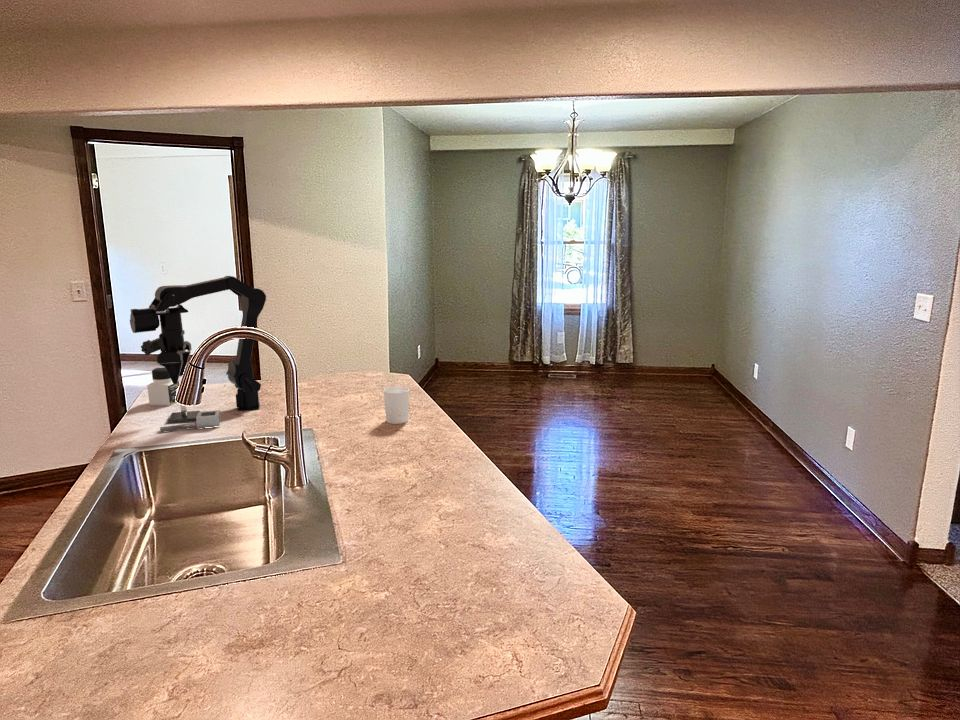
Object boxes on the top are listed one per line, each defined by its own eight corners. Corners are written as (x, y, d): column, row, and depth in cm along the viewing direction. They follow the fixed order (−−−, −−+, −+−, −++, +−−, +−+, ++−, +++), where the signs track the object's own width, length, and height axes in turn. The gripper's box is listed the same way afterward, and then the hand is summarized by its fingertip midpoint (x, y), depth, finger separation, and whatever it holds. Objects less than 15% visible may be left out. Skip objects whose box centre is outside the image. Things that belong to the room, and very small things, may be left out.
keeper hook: (200, 413, 192) (198, 398, 191) (197, 421, 184) (195, 405, 183) (172, 415, 189) (170, 400, 188) (168, 423, 182) (166, 407, 181)
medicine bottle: (170, 406, 200) (166, 370, 197) (149, 405, 200) (145, 370, 197) (181, 400, 207) (177, 365, 204) (160, 399, 207) (157, 365, 204)
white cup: (412, 417, 189) (411, 386, 187) (407, 425, 182) (406, 393, 180) (387, 416, 190) (387, 385, 188) (381, 424, 182) (380, 392, 180)
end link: (221, 421, 184) (220, 410, 183) (219, 427, 178) (218, 415, 178) (199, 423, 182) (198, 411, 181) (197, 429, 177) (196, 417, 176)
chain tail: (194, 426, 179) (194, 422, 179) (194, 428, 178) (194, 424, 177) (160, 430, 176) (160, 426, 175) (160, 432, 174) (160, 428, 173)
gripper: (149, 325, 185) (155, 374, 189) (133, 336, 168) (140, 389, 171) (188, 323, 188) (194, 371, 192) (177, 333, 171) (183, 386, 174)
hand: (178, 379), depth 182 cm, fingers open, 9 cm apart
